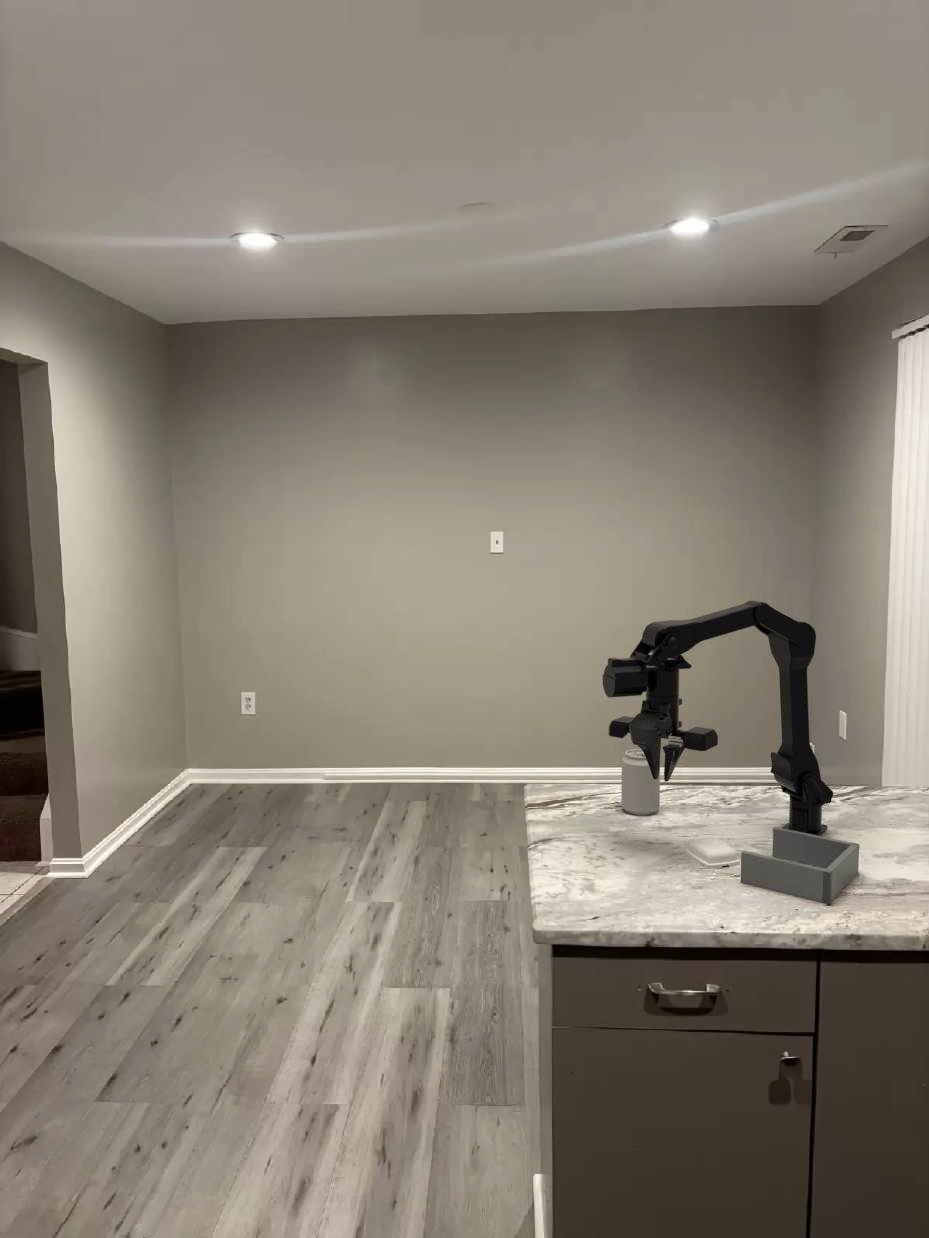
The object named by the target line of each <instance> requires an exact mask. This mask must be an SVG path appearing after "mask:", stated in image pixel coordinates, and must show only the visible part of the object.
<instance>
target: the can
mask: <svg viewBox="0 0 929 1238" xmlns="http://www.w3.org/2000/svg"><path fill="white" fill-rule="evenodd" d="M624 754H625V755H624V756H623V757H622V759H621V793H620V794H621V795H620V796H621V797H620V798H621V799H620V800H621V807H622V809H624V810H625V812H626V813H628V814H631V815H635V816H649V815H653V814H655V813H656V811H658V810H659V809H660V806H661V805H660V797H661V793H660V792H661V791H660V790H661V788H660V787H661V786H660V785H661V768H660V769H659V776H658V779H656V780H655V779H653V776H652V773H651V771H650V768H649V765H648V762H647V759H646V757H645V755H644V753H643V751H642V749H641V748H634V749H628V750H626V751H625V752H624Z"/></svg>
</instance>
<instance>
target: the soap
mask: <svg viewBox="0 0 929 1238" xmlns="http://www.w3.org/2000/svg"><path fill="white" fill-rule="evenodd" d="M683 852H684V854H685V855H687V856H688V858H690V859H692V860H693V861H695V862H696V863H697V864H699V865H701V866H702V867H703V868H706V869H708V870H709V869H711V870H712V869H713V870H714V869H722V867H724V866H728V867H735V866H739V865H740V866H741V859H739V858H738V857H739V856H738V852H737V851H736V850H735V849H734V848H732V847H731V846H730V845H728V844H727V843H725V842H724V841H722V840H721V839H718V838H716V837H715V836H705V837H696V838H690V839H687V841H686V847H684V848H683Z"/></svg>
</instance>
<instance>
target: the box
mask: <svg viewBox="0 0 929 1238" xmlns="http://www.w3.org/2000/svg"><path fill="white" fill-rule="evenodd" d="M771 855H772V856H769V855H764V854H760V853H757V852H756V853H755V852H751V851H748V850H747V851H746V850H742V851H741V852H740V883H743V884H746V885H751V886H754V887H759V888H763V889H767V890H770V891H775V892H779V893H783V894H787V895H791V896H794V897H799V898H803V899H807V900H811V901H814V902H819V903H824V904H827V905H830V904H831V903H832V901H834V900H835V899H836V897H838V895H839V894H840V893H841V892H842V891H843V890H844V889H845V888H846V887H847V886H848V885H849V884H850V883H851V882H852V881H853V879H854V878H855V877H856V876H857V875H858V874H859V862H860V843H856V842H851V841H846V840H842V839H836V838H831V837H828V836H827V837H826V836H821V835H819V836H817V835H813V834H808V833H803V832H798V831H793V830H788V829H783V828H782V827H777V826H774V827H773V828H772V853H771ZM773 856H774V857H773ZM800 862H801V863H800ZM804 863H805V864H804ZM818 866H819V867H818Z"/></svg>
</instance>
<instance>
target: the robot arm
mask: <svg viewBox="0 0 929 1238" xmlns="http://www.w3.org/2000/svg"><path fill="white" fill-rule="evenodd" d="M751 627H754V628H755V629H757V631H759V632H760V633H762V634H763V635H765V636H766V637H767V638H768V642H769V649H770V653H771V655H772V657H773V659H774V660H775V663H776V665H777V667H778V673H779V674H778V675H779V677H778V678H779V695H780V696H779V702H780V721H781V723H780V724H781V728H780V729H781V745H780V747H779V748H778V750H777V752H776V751H773V752H771V753H770V759H771V760H770V761H771V769H770V773H771V774H773V777H774V780H775V781H776V783H778V784H779V785H780V789H781V792H782V793H784V794H787V795H789V806H788V807H789V809H788V810H789V811H788V823H786V824H785V825H784V826H782V827H781V828H783V829H788V830H793V831H798V832H803V833H808V834H813V835H817V836H821V835H822V834H823V833H824V832H825V831H826V830H827V829H828V827H829V826H828V825H827V824H822V823H823V822H822V820H823V818H822V816H823V815H822V814H823V806H824V805H828V804H831V802H832V799H833V798H834V791H833V790H832V789H831V788H830V787H829V786H828V785H827V784H826V783H825V782H824V781H823V780H822V776H821V770H820V766H819V765H820V764H819V761H818V759H817V757H816V755H815V753H814V751H813V748H812V746H811V743H810V741H811V739H810V721H809V720H810V713H809V689H808V688H809V685H808V668H809V666H810V664H811V662H812V659H813V658H814V655H815V651H816V642H817V631H816V630H815V628H814V627H813V626H812V625H811V624H809V623H808V622H806V621H801V620H797V619H794V618H792V617H790V616H788V615H786V614H785V613H782V612H780V611H778V610H776V609H775V608H773V607H772V606H771V605H769V603H767V602H764V601H758V600H753V599H752V600H748V601H746V602H744V603H741V604H739V605H736V606H735V605H734V606H730V607H729V608H726V609H724V608H723V609H722V610H718V611H714V612H712V613H708V614H703V615H700V616H697V617H693V618H690V619H677V620H675V619H674V620H673V619H672V620H661V621H653V622H651V623H648V624H647V625H646V626H645V628H644V630H643V632H642V636H641V639H640V640H639V642H638V644H637V645H636V647H635V648H633V651H632V652H631V654H630V655H629V657H627V658H617V657H609V658H607V664H606V666H605V667H604V670H603V674H602V679H601V680H602V687H603V691H604V694H605V695H606V696H607V698H609V699H610V698H621V697H622V698H624V697H639V696H642V695H643V693H645V699H644V700H642V701H641V709H640V712H638V713H637V714H636V715H635V716H634V717H632V716H625V715H623V716H621V717H618V718H615V719H612V721H610V722H609V725H608V736H609V737H612V738H618V739H619V738H620V739H625V737H626V736H628V734H629V736H630V740H631V742H632V744H633V745H634V746H635V745H636V746H637V747H638V748H639V749H642V751H643V753H644V755H645V757H646V759H647V762H648V765H649V768H650V771H651V773H652V776H653V779H655V780H656V779H658V776H659V769H660V770H661V749H662V750H663V752H664V765H663V766H664V769H663V779H664V783H665V782H666V783H668V782H669V781H670V779H671V777H672V775H673V773H674V770H675V769H676V765H677V764H678V761H679V759H680V757H681V756H682V754H683V753H684V751H685V749H686V750H692V751H697V752H706V751H708V750H710V749H712V748H714V747H716V746H717V745H718V742H719V741H718V740H719V734H718V733H717V732H716V730H715V729H713V728H708V727H700V726H694V727H692V728H690V729H688V730H681V729H680V728H682V726H683V724H682V723H683V721H681V720H679V718H680V717H679V716H680V715H679V714H680V711H679V709H680V706H681V705H683V698H680V670H687V669H688V670H689V669H691V668H692V665H691V664H690V663H689V662H688V661H687V660H686V659H685V658H684V655H683V654H685V653H687V652H688V651H691V650H692V649H693V648H694V647H695V646H696V645H698V644H700V643H702V642H704V641H707V640H711V639H714V638H717V637H721V636H725V635H728V634H731V633H734V632H737V631H738V632H739V631H741V630H744V629H747V628H751ZM650 653H651V654H650ZM662 739H666V740H668V744H666V745H664V746H662V745H661V744H662ZM661 747H662V748H661Z"/></svg>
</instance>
